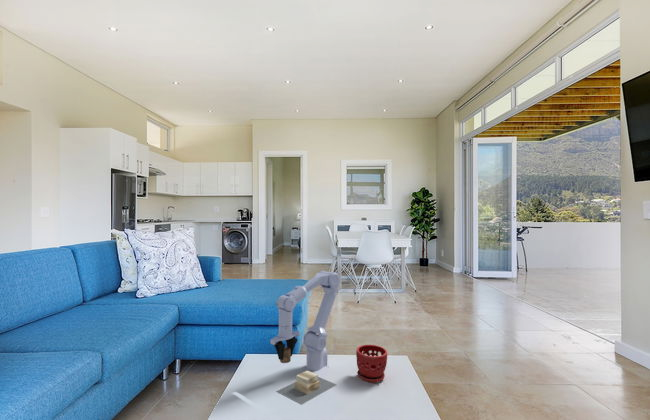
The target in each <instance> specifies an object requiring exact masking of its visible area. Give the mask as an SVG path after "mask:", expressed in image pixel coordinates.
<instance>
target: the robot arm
mask: <svg viewBox="0 0 650 420" xmlns="http://www.w3.org/2000/svg"><path fill="white" fill-rule="evenodd" d="M340 282H341V279H340V277H339V274H338V273H337V272H334V271H333V272H331V271H326V270H323V269H322V270H320V271H318V272H317V273H315V275H314V277H312V278H311V279H309V280H308V281H307V282H306V283H304V285H296V286H294V288H293V289H292V290H290V291H289V292H287V293H285V294H282V295H280V296H279V297H278V298H277V301H276V302H275V306H276V307H277V309H278V333H277V335H276V336H275V337H272V338H271V339H270V345H273V346H274V348H275V351H276V353H277V358H278V360H279V361H280V360H283V356H284V348H285V347H289V348H291V357H292V356H293V352H294V349H295V347H296V345H297V342H298V338H297V337H300V331H298V330H295V331H293V311H294V309H295V308H296V305H298V303H300V302H301V301H302V300H303V299H305V298H307V293H309V292H311V291H312V290H314V289H315V288H317V287H319V286H320V287H321V289H323V291H324V293H323V296H322V300H321V303H320V306H319V309H318V310H317V311H318V312H317V314H316V316H315V320H314V322H313V325H311V326H310V327H309V328H308V329H307V331H306V333H305V334H304V335H303V341H302V342H303V344H304V346H305V349H306V369H307V370H308V371H311V372H312V371H320V370H322V369H323V368H325V367H326V368H329V366H328V350H327V348H326V346H327V338H328V333H327V331H326V330H325V329H326V326H327V323H328V322H329V318H330V315H331V312H332V309H333V307H334V304H335V300H336V298H337V295H338V288H339V284H340ZM284 342H286V344H285V343H284Z"/></svg>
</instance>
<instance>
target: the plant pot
mask: <svg viewBox="0 0 650 420" xmlns="http://www.w3.org/2000/svg"><path fill="white" fill-rule="evenodd" d="M370 351H371V352H370ZM355 352H356V353H355V354H356V366H357V369H358V370H357V371H356V373H357V376H358V378H359V379H360V380H362V381H363V382H366V383H367V382H368V383H375V384H376V383H379V382H381V381H383V380H384V378H385V376H386V375H385V370H386V368H387V364H388V351H387V349H386V348H384V347H383V346H379V345H376V344H362V345H359V346H358V347H357V348H356V351H355ZM379 353H380V355H379Z"/></svg>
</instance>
